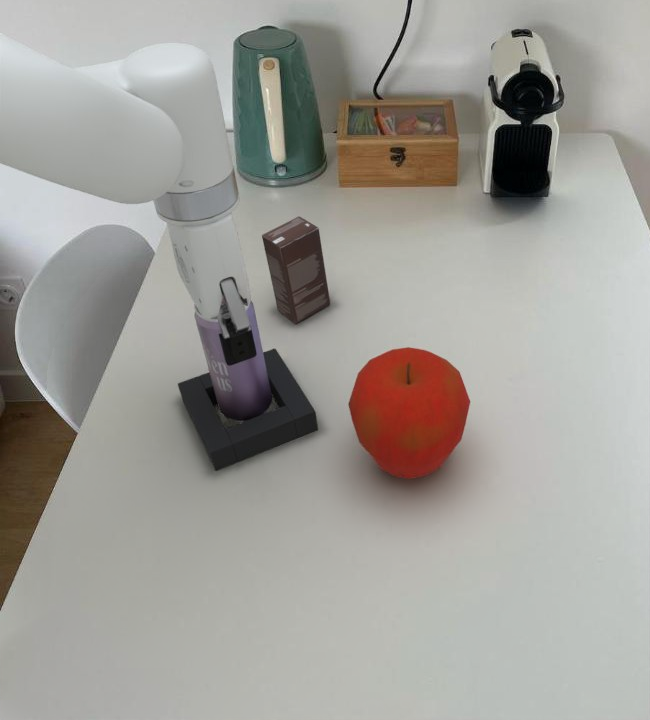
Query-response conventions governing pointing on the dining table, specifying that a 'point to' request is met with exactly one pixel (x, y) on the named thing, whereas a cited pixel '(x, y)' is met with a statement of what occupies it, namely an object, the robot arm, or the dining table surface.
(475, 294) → the dining table surface
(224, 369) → the beverage can
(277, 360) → the socket pad
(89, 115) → the robot arm
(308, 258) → the box
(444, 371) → the apple
